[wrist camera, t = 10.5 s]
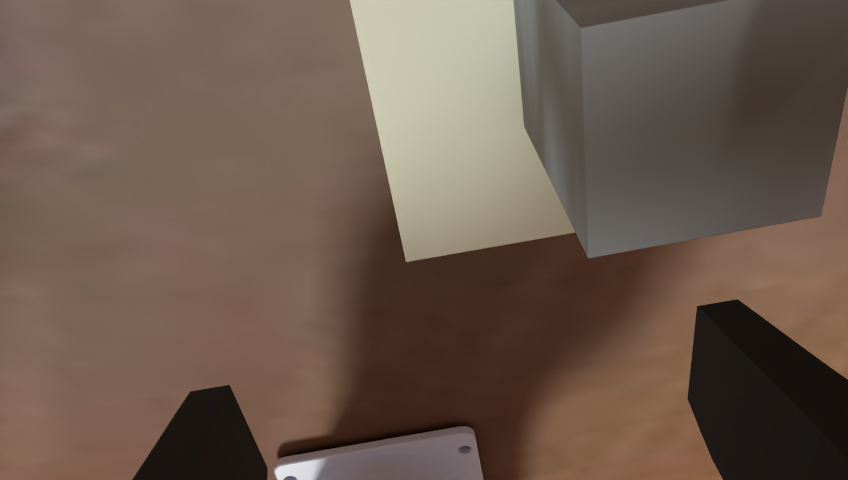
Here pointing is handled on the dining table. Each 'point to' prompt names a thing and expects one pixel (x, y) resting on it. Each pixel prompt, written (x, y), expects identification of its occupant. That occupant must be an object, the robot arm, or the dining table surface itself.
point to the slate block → (682, 112)
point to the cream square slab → (454, 125)
